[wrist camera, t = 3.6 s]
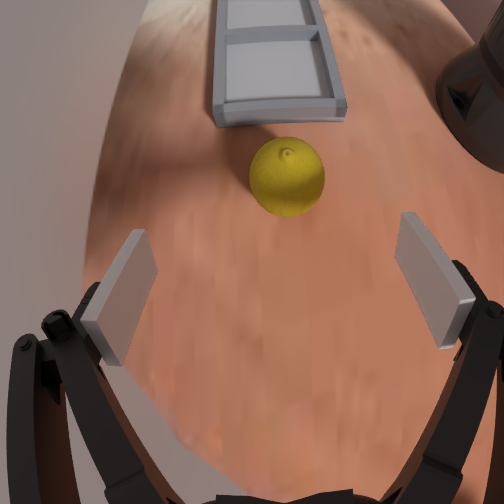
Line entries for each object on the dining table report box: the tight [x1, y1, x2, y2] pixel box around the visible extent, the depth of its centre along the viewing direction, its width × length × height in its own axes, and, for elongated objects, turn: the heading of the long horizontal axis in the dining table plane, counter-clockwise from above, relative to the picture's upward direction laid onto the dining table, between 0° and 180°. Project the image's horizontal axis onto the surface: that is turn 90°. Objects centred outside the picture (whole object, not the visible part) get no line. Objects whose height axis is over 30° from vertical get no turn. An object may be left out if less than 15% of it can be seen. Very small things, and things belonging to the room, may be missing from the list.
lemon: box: [249, 137, 325, 217], centre depth 23 cm, size 6×6×8 cm
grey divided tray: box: [212, 0, 348, 128], centre depth 30 cm, size 23×12×2 cm, turn 2°
